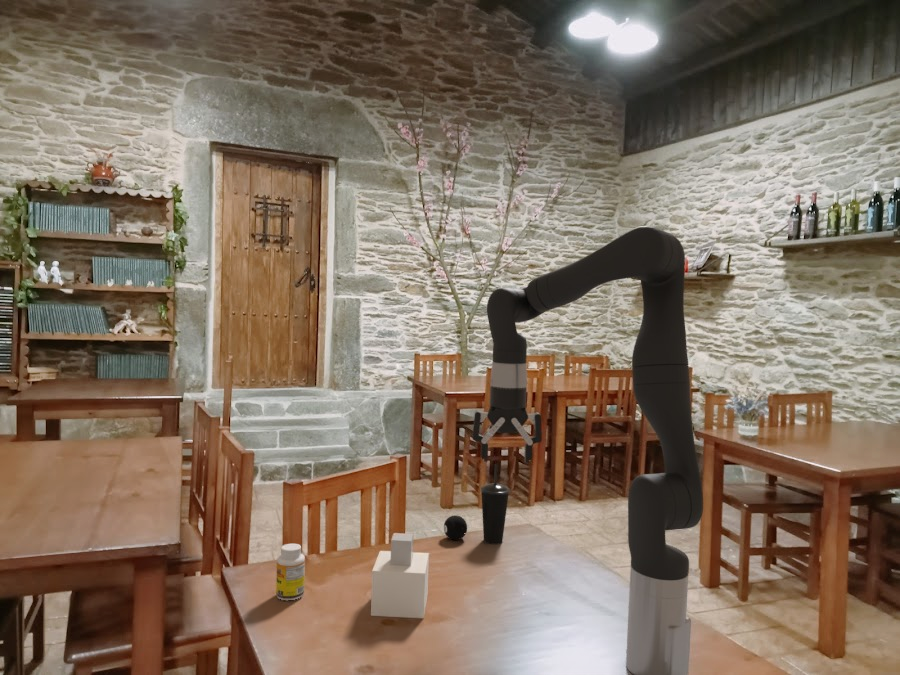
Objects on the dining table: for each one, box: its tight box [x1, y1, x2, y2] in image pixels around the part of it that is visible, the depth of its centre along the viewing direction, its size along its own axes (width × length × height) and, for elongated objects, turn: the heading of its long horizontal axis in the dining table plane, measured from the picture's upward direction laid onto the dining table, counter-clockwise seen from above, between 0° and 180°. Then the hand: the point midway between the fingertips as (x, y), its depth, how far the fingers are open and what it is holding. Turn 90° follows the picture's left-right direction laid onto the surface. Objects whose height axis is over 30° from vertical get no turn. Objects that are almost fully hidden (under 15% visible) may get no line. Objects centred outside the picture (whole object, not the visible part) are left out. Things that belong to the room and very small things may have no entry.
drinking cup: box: [479, 463, 511, 545], centre depth 164 cm, size 8×8×20 cm
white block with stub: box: [370, 532, 430, 619], centre depth 127 cm, size 10×10×14 cm
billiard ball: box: [443, 515, 468, 541], centre depth 165 cm, size 6×6×6 cm
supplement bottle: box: [275, 543, 306, 601], centre depth 129 cm, size 6×6×10 cm
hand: (505, 461), depth 133 cm, fingers open, 8 cm apart
